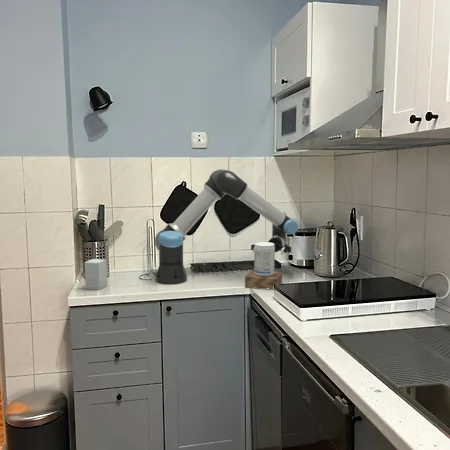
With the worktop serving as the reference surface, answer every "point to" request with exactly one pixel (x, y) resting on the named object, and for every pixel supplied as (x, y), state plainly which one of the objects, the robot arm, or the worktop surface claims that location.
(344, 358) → the worktop surface
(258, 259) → the supplement tub
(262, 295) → the worktop surface
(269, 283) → the walnut block
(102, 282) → the supplement box
